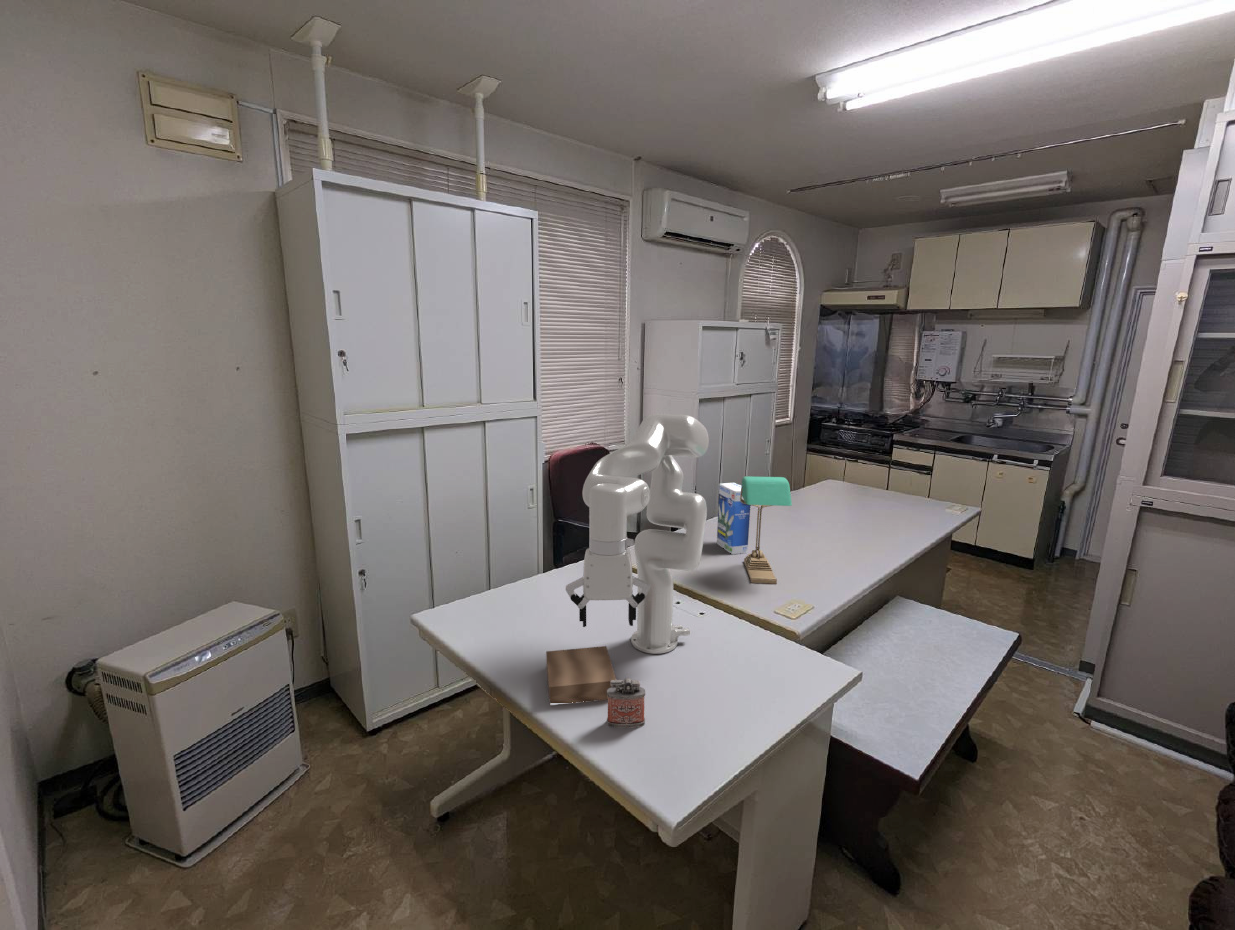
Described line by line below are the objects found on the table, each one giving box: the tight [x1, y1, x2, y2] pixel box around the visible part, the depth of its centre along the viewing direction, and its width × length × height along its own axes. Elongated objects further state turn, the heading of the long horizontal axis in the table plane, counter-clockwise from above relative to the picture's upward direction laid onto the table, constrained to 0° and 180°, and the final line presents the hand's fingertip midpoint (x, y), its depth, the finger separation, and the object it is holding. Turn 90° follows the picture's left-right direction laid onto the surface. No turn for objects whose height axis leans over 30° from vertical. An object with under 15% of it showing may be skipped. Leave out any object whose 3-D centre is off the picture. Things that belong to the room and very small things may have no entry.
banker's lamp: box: [740, 475, 793, 585], centre depth 191 cm, size 16×21×35 cm
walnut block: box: [545, 645, 617, 704], centre depth 128 cm, size 15×15×5 cm
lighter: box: [606, 677, 646, 729], centre depth 114 cm, size 8×3×10 cm, turn 92°
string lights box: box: [716, 482, 751, 555], centre depth 217 cm, size 13×8×26 cm, turn 17°
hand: (607, 623), depth 113 cm, fingers open, 9 cm apart
